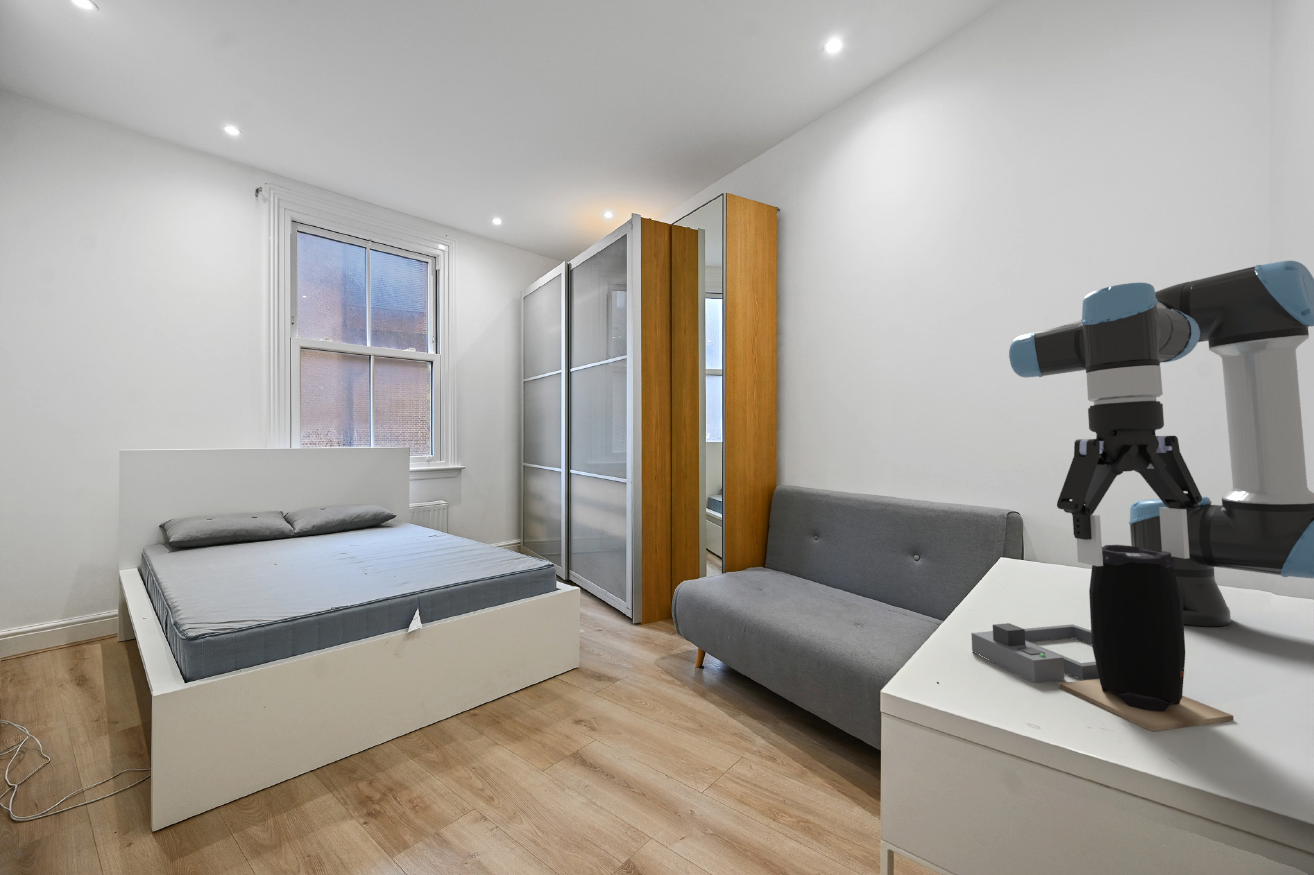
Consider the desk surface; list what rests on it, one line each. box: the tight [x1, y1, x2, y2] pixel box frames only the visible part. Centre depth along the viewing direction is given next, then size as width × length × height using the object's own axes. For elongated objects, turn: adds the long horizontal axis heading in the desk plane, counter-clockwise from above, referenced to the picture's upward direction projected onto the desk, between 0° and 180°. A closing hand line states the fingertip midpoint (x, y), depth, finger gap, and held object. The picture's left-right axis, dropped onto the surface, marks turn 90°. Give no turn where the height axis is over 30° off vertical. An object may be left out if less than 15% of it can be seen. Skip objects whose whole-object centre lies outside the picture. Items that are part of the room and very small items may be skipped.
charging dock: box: [1024, 624, 1099, 681], centre depth 85 cm, size 18×16×2 cm
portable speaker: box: [1088, 544, 1186, 711], centre depth 70 cm, size 9×9×20 cm
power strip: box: [971, 622, 1065, 684], centre depth 82 cm, size 5×12×6 cm, turn 9°
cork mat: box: [1058, 678, 1234, 732], centre depth 69 cm, size 12×12×1 cm
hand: (1133, 560), depth 70 cm, fingers open, 13 cm apart
